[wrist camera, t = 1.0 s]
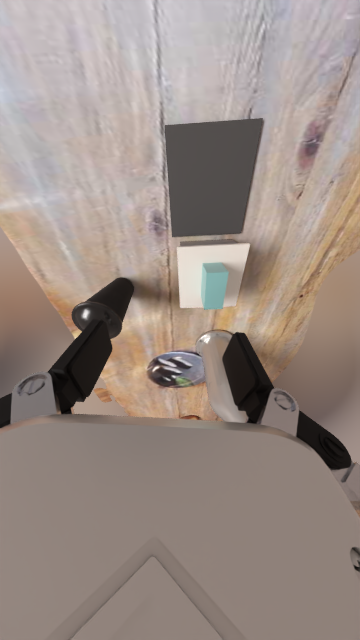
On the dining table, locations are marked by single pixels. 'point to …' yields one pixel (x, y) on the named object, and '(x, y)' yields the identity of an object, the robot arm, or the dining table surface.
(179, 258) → the lid
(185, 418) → the slice of bread
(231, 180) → the mat
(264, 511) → the robot arm
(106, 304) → the drinking cup
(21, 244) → the dining table surface
